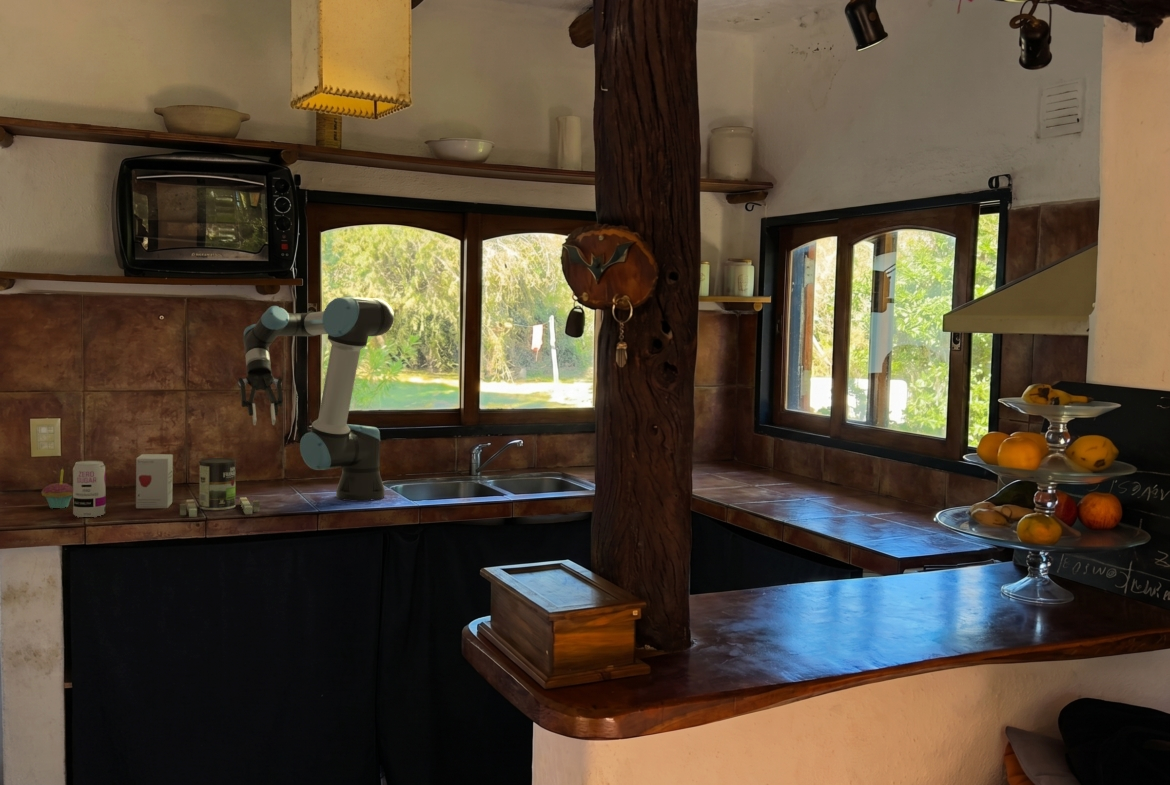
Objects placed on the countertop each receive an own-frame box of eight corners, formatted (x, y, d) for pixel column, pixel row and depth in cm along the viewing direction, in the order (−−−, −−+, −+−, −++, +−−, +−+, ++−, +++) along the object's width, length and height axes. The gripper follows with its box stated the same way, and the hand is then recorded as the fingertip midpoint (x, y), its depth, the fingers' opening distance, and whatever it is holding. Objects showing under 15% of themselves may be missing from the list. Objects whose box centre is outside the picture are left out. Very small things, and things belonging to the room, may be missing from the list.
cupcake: (81, 506, 299) (81, 465, 298) (55, 511, 292) (55, 469, 291) (60, 503, 303) (60, 463, 302) (34, 507, 295) (34, 466, 294)
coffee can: (242, 505, 309) (242, 458, 307) (223, 511, 299) (223, 463, 297) (211, 502, 311) (211, 456, 310) (191, 509, 301) (191, 461, 299)
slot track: (178, 506, 303) (178, 496, 303) (254, 503, 312) (254, 493, 311) (180, 517, 288) (180, 507, 288) (260, 513, 297) (260, 503, 297)
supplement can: (99, 511, 293) (99, 459, 292) (109, 516, 287) (109, 463, 286) (69, 514, 287) (68, 461, 286) (78, 519, 281) (78, 465, 280)
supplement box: (134, 509, 298) (134, 458, 297) (141, 503, 307) (140, 453, 306) (168, 508, 300) (168, 458, 299) (173, 502, 309) (173, 453, 308)
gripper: (286, 373, 335) (293, 429, 321) (228, 373, 328) (232, 430, 314) (288, 358, 330) (295, 414, 316) (229, 357, 323) (234, 415, 309)
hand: (264, 422), depth 315 cm, fingers open, 5 cm apart
